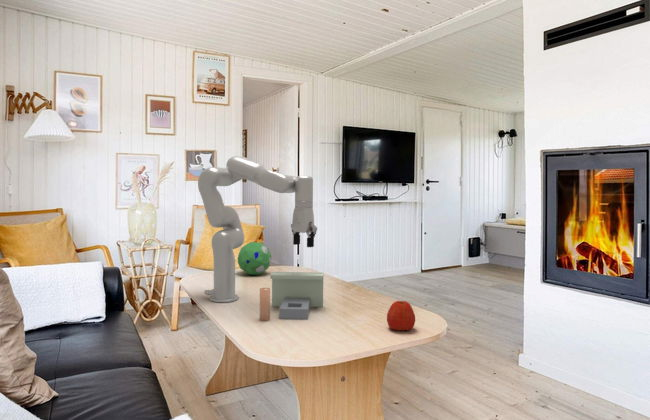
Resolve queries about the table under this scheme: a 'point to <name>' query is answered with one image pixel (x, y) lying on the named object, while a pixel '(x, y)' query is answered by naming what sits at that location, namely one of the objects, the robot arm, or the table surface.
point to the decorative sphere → (254, 258)
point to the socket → (294, 308)
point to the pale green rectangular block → (297, 287)
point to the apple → (401, 316)
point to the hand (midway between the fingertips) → (303, 245)
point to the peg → (264, 304)
